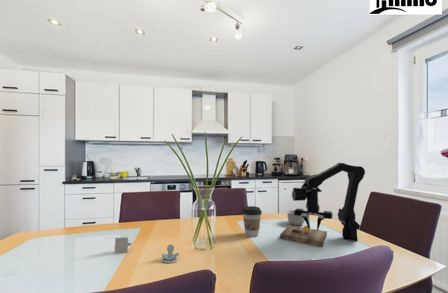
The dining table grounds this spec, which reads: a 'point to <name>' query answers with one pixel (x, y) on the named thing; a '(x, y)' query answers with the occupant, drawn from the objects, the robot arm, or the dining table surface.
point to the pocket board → (304, 236)
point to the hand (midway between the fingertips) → (313, 229)
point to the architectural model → (121, 245)
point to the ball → (306, 229)
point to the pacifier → (170, 255)
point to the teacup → (295, 218)
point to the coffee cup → (251, 220)
